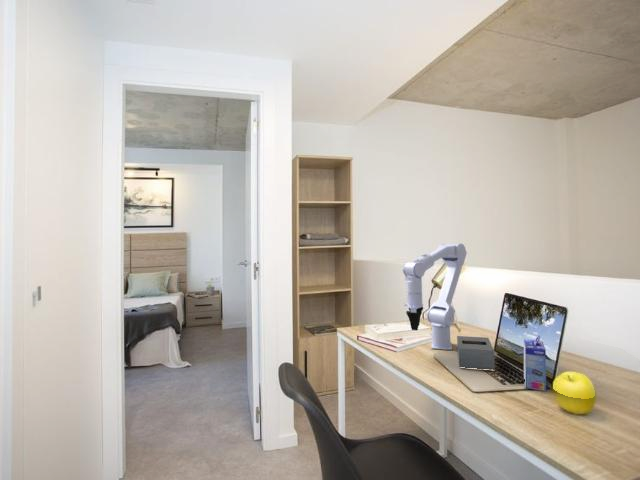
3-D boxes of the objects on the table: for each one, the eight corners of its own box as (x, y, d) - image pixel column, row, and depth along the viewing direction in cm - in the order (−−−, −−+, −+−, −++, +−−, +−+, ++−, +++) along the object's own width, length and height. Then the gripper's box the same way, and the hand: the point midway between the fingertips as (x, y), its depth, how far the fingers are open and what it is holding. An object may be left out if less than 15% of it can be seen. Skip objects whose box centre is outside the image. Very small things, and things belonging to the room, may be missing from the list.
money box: (457, 354, 135) (457, 335, 135) (489, 356, 131) (488, 337, 131) (459, 368, 120) (458, 348, 120) (494, 371, 116) (494, 350, 116)
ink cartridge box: (547, 392, 99) (545, 341, 100) (525, 389, 102) (523, 339, 102) (544, 379, 108) (542, 333, 108) (523, 377, 111) (521, 331, 111)
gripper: (406, 290, 144) (406, 323, 144) (401, 295, 131) (402, 331, 131) (423, 290, 142) (424, 324, 142) (421, 295, 128) (422, 332, 128)
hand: (415, 327), depth 136 cm, fingers open, 7 cm apart
